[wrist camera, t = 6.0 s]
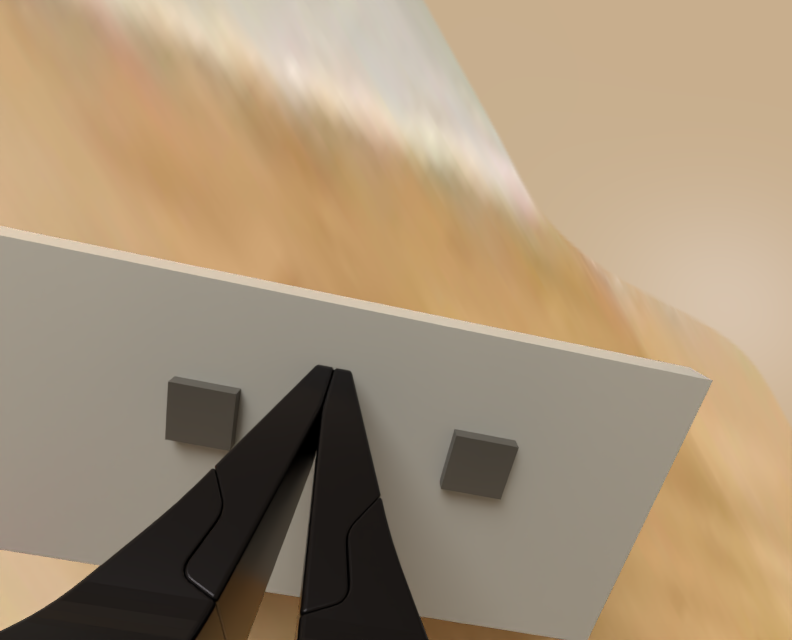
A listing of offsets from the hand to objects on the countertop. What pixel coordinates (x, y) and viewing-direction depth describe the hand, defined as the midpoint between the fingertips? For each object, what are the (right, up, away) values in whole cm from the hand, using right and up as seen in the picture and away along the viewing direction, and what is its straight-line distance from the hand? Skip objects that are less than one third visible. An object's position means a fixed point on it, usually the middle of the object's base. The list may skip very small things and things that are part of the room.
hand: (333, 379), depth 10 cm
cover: (-1, -2, +2) cm, 3 cm away
